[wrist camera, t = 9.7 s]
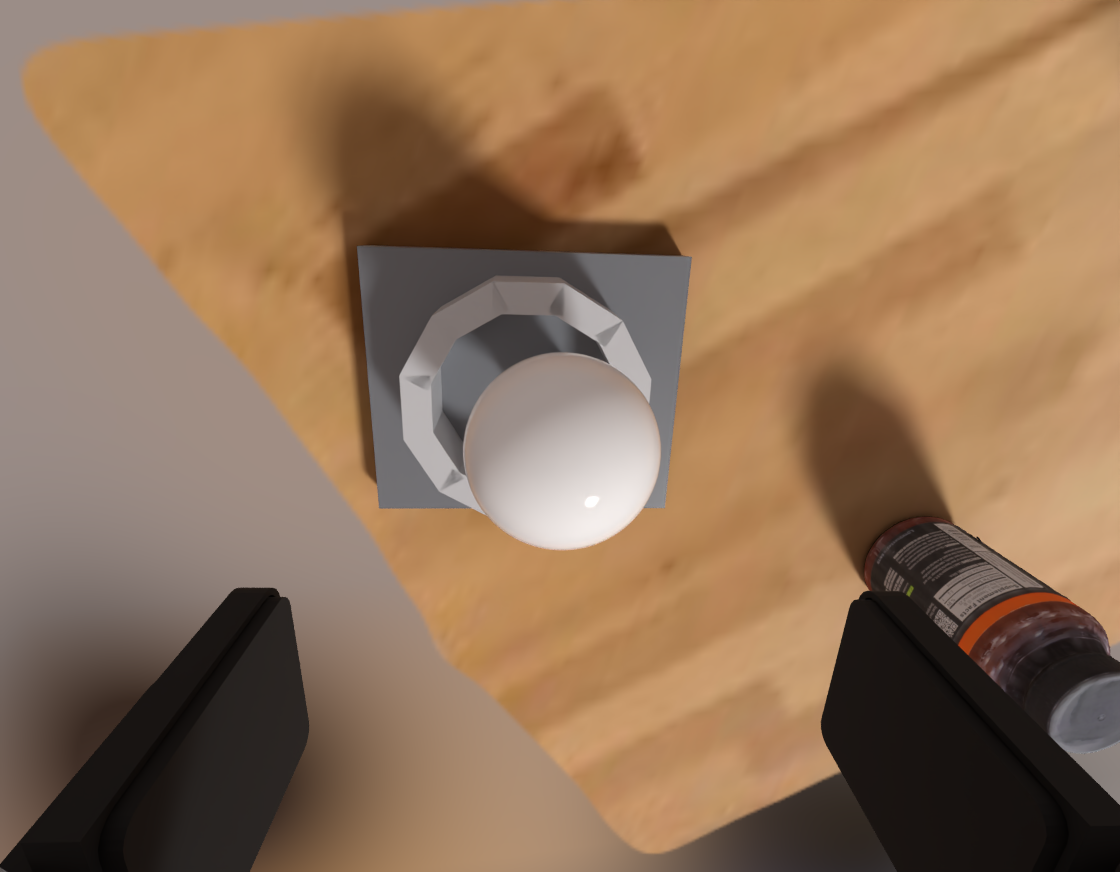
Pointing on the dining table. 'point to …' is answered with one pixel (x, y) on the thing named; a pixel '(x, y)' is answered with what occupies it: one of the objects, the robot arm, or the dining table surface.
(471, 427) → the lightbulb
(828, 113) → the dining table surface
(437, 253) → the socket holder
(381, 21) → the dining table surface
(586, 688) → the dining table surface
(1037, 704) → the supplement bottle
